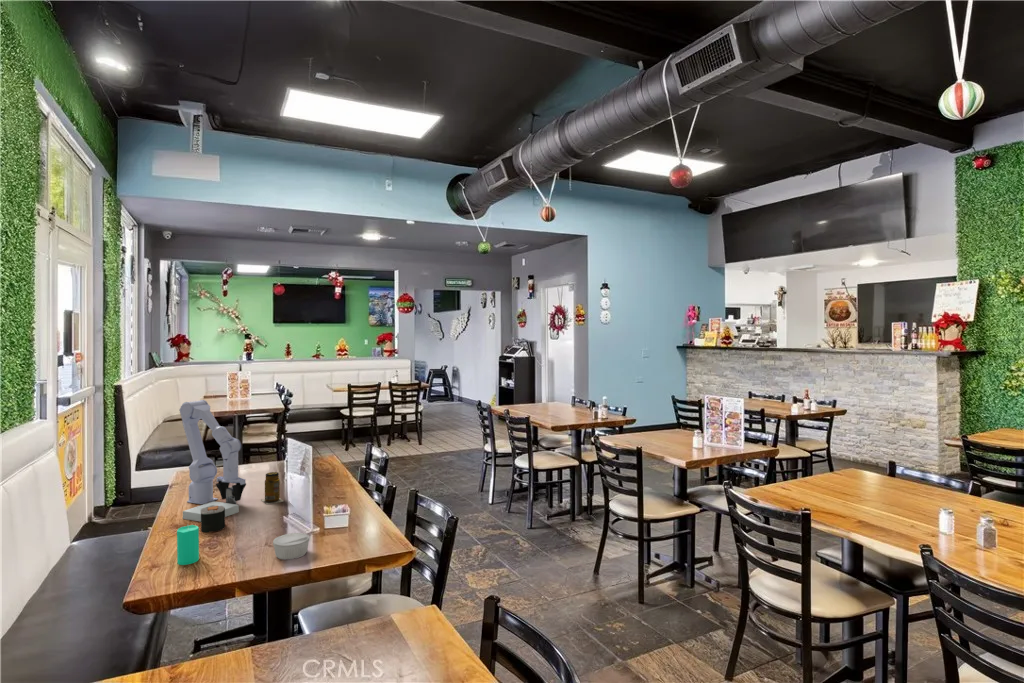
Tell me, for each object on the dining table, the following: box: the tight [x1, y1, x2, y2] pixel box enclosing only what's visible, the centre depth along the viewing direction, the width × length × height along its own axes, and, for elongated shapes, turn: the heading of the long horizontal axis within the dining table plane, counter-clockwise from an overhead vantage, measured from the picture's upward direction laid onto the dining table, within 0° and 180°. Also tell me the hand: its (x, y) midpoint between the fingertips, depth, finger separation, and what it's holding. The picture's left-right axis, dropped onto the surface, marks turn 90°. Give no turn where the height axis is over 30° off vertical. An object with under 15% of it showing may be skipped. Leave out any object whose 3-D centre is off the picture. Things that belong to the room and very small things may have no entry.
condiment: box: [261, 471, 284, 505], centre depth 241 cm, size 7×8×12 cm
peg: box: [225, 486, 237, 505], centre depth 236 cm, size 4×4×7 cm
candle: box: [176, 524, 200, 566], centre depth 176 cm, size 6×6×12 cm
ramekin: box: [272, 532, 310, 561], centre depth 181 cm, size 11×11×5 cm
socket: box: [182, 500, 240, 523], centre depth 221 cm, size 14×14×3 cm
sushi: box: [200, 506, 226, 534], centre depth 206 cm, size 8×8×8 cm
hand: (231, 499), depth 236 cm, fingers open, 7 cm apart
